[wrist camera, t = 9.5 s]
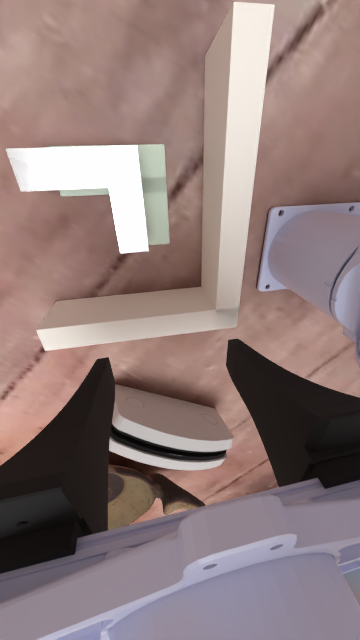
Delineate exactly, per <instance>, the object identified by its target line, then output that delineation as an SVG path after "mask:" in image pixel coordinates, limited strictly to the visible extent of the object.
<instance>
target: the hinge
mask: <svg viewBox="0 0 360 640" xmlns="http://www.w3.org/2000/svg"><path fill="white" fill-rule="evenodd" d="M232 441H233V435H232V433H231V432H230V430H229V429H228V427H227V426H226V424H225V423H224V421H223V420H222V418H221V417H220V415H219V413H218V412H217V410H216V409H215V408H211V407H207V406H203V405H199V404H195V403H191V402H187V401H183V400H179V399H175V398H170V397H166V396H162V395H158V394H154V393H150V392H146V391H142V390H138V389H134V388H130V387H125V386H121V385H117V384H115V404H114V411H113V419H112V426H111V433H110V442H109V450H110V451H111V452H113V453H116V454H118V455H121V456H123V457H126V458H129V459H132V460H135V461H138V462H141V463H145V464H148V465H153V466H157V467H162V468H168V469H176V470H203V469H209V468H214V467H217V466H220V465H221V464H222V462H223V461H224V460H225V458H226V457H227V455H226V450H227V449H230V448H231V446H232Z"/></svg>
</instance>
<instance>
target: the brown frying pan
mask: <svg viewBox="0 0 360 640" xmlns="http://www.w3.org/2000/svg"><path fill="white" fill-rule="evenodd" d="M155 498H160V499H161V501H162V504H163V512H164V514H165V515H168V514H169V513H171V512H173V511H175V510H177V509H182V508H185V509H190V510H191V509H195V508H199V507H203V506H206V505H205V504H204V503H203V502H202V501H200V500H199V499H198V498H196V497H195V496H193V495H192V494H190V493H189V492H187V491H186V490H184V489H182V488H181V487H179V486H178V485H176V484H175V483H173V482H172V481H170V480H169V479H168V478H166V477H165V476H163V475H161V474H159V473H152V474H149V475H144V474H142V473H141V472H139V471H138V470H135V469H132V468H128V467H123V466H117V465H108V530H112V529H116V528H120V527H124V526H127V525H129V524H130V523H131V522H134V521H135V520H136V519H137V518H139V517H140V516H142V515H143V514H144V513H145V512H147V511H148V510H149V509H150V507H151V506H152V505H153V503H154V501H155Z"/></svg>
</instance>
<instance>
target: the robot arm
mask: <svg viewBox="0 0 360 640" xmlns="http://www.w3.org/2000/svg"><path fill="white" fill-rule="evenodd" d="M350 207H351V209H350V210H349V208H350ZM280 210H281V211H282V213H281V215H280V216H279V215H278V213H279V211H280ZM266 285H268V287H266ZM265 287H266V288H265ZM257 289H258V290H259V291H261V292H263V291H273V290H282V289H289V290H291V291H292V292H294V293H295V294H297V295H298V296H300V297H301V298H303V299H304V300H306V301H307V302H309V303H310V304H312V305H313V306H315V307H316V308H318V309H319V310H321V311H322V312H323V313H325V314H326V315H328V316H329V317H331V318H332V319H334V320H335V321H337V322H339V323H340V324H341V325H342V327H343V335H345V336H346V337H348V338H349V339H350V340H352V341H353V342H355V343H356V347H355V358H356V361H357V363H358V366H359V367H360V202H354V203H335V204H317V205H299V206H281V207H273V208H271V209H270V211H269V214H268V221H267V227H266V233H265V240H264V246H263V253H262V259H261V265H260V272H259V278H258V284H257ZM226 366H227V369H228V372H229V374H230V377H231V379H232V381H233V383H234V385H235V387H236V388H237V390H238V392H239V394H240V396H241V397H242V399H243V401H244V403H245V405H246V406H247V408H248V410H249V412H250V414H251V416H252V418H253V421H254V423H255V425H256V428H257V430H258V432H259V435H260V437H261V440H262V442H263V445H264V447H265V450H266V452H267V455H268V458H269V460H270V463H271V466H272V468H273V471H274V474H275V477H276V480H277V483H278V486H279V488H275V489H271V490H267V491H263V492H259V493H255V494H251V495H247V496H243V497H239V498H235V499H231V500H227V501H223V502H219V503H215V504H211V505H207V506H203V507H199V508H195V509H191V510H187V511H183V512H179V513H175V514H171V515H167V516H163V517H159V518H156V519H152V520H148V521H144V522H140V523H136V524H132V525H128V526H124V527H120V528H116V529H112V530H108V465H109V442H110V433H111V426H112V419H113V411H114V404H115V380H114V376H113V373H112V369H111V365H110V361H109V357H108V358H101V359H97V360H96V362H95V363H94V365H93V367H92V368H91V370H90V372H89V373H88V375H87V376H86V378H85V379H84V381H83V382H82V384H81V385H80V387H79V388H78V390H77V391H76V392H75V394H74V395H73V396H72V398H71V399H70V400H69V402H68V403H67V404H66V405H65V406H64V408H63V409H62V410H61V411H60V412H59V413H58V415H57V416H56V417H55V418H54V419H53V420H52V421H51V422H50V423H49V424H48V425H47V426H46V427H45V428H44V429H43V430H42V431H41V432H40V433H39V434H38V435H37V436H36V437H35V438H34V439H32V440H31V441H30V442H29V443H28V444H27V445H26V446H25V447H23V448H22V449H21V450H20V451H19V452H17V453H16V454H15V455H14V456H13V457H11V458H10V459H9V460H7V461H6V462H5V463H4V464H2V465H1V466H0V640H360V606H359V605H358V602H357V601H356V599H355V597H354V595H353V593H352V591H351V590H350V588H349V586H348V584H347V582H346V580H345V578H344V577H343V575H342V574H344V573H346V572H349V571H352V570H354V569H357V568H360V398H358V397H355V396H351V395H348V394H344V393H341V392H338V391H335V390H332V389H329V388H326V387H323V386H321V385H318V384H316V383H313V382H311V381H309V380H306V379H304V378H302V377H299V376H297V375H295V374H293V373H291V372H289V371H287V370H286V369H284V368H282V367H280V366H278V365H277V364H275V363H273V362H272V361H270V360H268V359H267V358H265V357H264V356H262V355H261V354H259V353H258V352H256V351H255V350H254V349H252V348H251V347H249V346H248V345H246V344H245V343H244V342H242V341H241V340H239V339H232V340H228V350H227V361H226Z"/></svg>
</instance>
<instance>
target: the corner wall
mask: <svg viewBox="0 0 360 640" xmlns="http://www.w3.org/2000/svg"><path fill="white" fill-rule="evenodd" d="M274 6H275V5H272V4H257V3H241V2H234V3H233V4H232V6H231V8H230V10H229V12H228V14H227V16H226V18H225V20H224V21H223V23H222V25H221V27H220V29H219V31H218V33H217V35H216V37H215V38H214V40H213V42H212V44H211V46H210V48H209V50H208V52H207V53H206V55H205V95H204V154H203V212H202V271H201V287H193V288H183V289H173V290H163V291H153V292H143V293H132V294H122V295H112V296H102V297H92V298H82V299H72V300H61V301H56V302H55V304H54V305H53V306H52V308H51V309H50V311H49V312H48V314H47V315H46V316H45V318H44V319H43V321H42V322H41V324H40V325H39V327H38V328H37V329H36V331H37V333H38V335H39V338H40V340H41V342H42V344H43V347H44V349H45V351H48V350H56V349H64V348H72V347H81V346H89V345H97V344H105V343H113V342H121V341H129V340H137V339H145V338H153V337H161V336H169V335H177V334H185V333H193V332H201V331H209V330H217V329H225V328H233V327H237V321H238V312H239V304H240V295H241V287H242V278H243V270H244V261H245V253H246V244H247V236H248V227H249V219H250V210H251V202H252V193H253V185H254V176H255V168H256V159H257V151H258V142H259V134H260V125H261V117H262V108H263V100H264V91H265V83H266V74H267V66H268V57H269V49H270V40H271V32H272V23H273V15H274Z"/></svg>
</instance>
